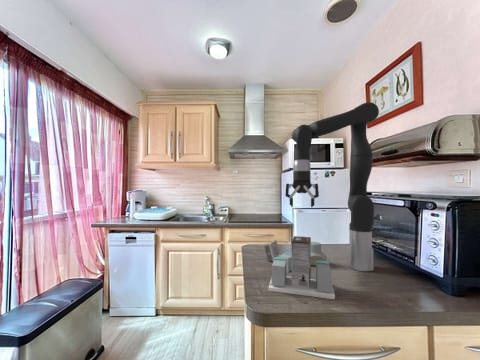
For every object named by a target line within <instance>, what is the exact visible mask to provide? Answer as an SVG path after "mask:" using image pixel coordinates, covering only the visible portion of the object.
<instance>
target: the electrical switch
mask: <svg viewBox="0 0 480 360" xmlns="http://www.w3.org/2000/svg"><path fill="white" fill-rule="evenodd" d="M263 247H264V250H265V254H266V258H267V261H268V262H270V263H271V262H273V261H274V258H275V257H278V256H279V255H281V253H280V249H279V246H278V241H277V239H276V240H272V241H270V242H269V243H267V244H265V245H264V246H263Z"/></svg>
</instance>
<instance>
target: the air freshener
mask: <svg viewBox="0 0 480 360" xmlns="http://www.w3.org/2000/svg"><path fill="white" fill-rule="evenodd" d="M327 260H328V258H327V256H326V254H325V253H324V252H322V244H321V242H318V241H311V266H313V267H316V261H327ZM327 262H328V261H327Z"/></svg>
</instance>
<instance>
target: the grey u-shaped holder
mask: <svg viewBox="0 0 480 360" xmlns="http://www.w3.org/2000/svg"><path fill="white" fill-rule="evenodd" d="M287 274H288V272H287V258H283V257H275V258H274V261H272V264H271V277H270V281H269V283H268V292H276V293H283V294H289V295H290V294H293V295H298V296H299V295H300V296H306V297H315V298H322V299H330V300H336V295H335V290H334V286H333V283H332V269H331V266H330V261H316V266H315V279H314V278H313V279H312V278H311V279H310V288H309V289H308V288H301V287H294V286H292V276H287Z"/></svg>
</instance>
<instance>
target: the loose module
mask: <svg viewBox="0 0 480 360" xmlns="http://www.w3.org/2000/svg"><path fill="white" fill-rule="evenodd" d="M278 257H283V258H287V273H289V272H292V252H287V251H284V252H283V253H282V254H280V255H279V256H278Z"/></svg>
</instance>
